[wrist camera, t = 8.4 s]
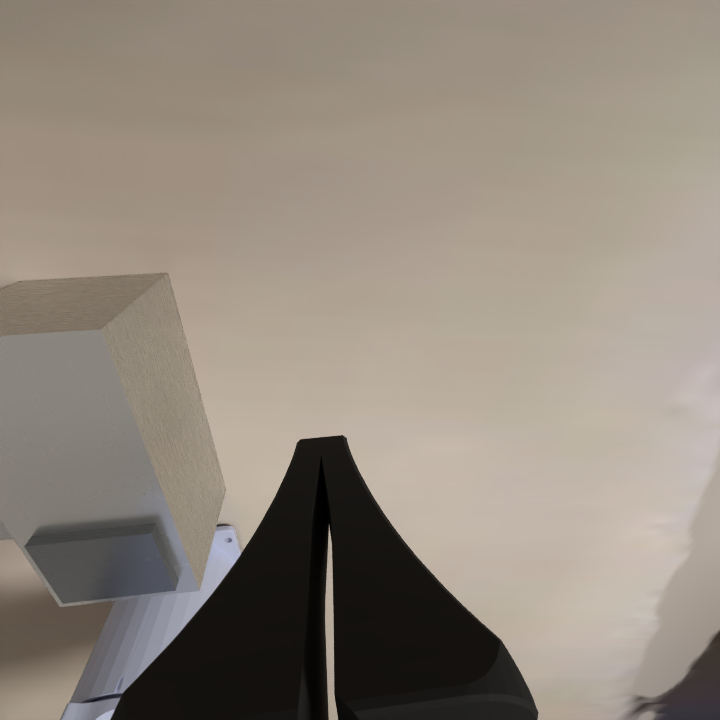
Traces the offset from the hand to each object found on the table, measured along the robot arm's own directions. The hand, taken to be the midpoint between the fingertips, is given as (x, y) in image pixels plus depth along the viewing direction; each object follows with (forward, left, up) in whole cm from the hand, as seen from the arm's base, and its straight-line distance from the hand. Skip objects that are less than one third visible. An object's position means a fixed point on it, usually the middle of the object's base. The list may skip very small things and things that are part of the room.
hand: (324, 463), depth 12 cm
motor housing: (-4, +13, -10) cm, 17 cm away
